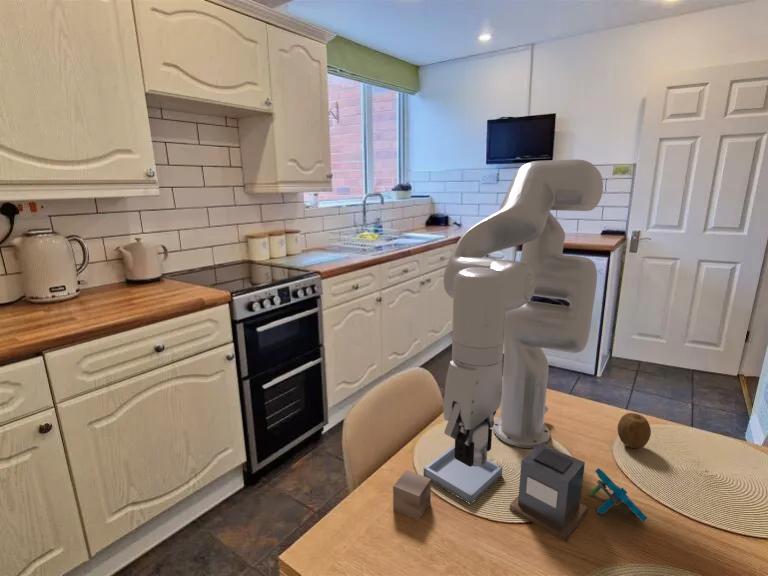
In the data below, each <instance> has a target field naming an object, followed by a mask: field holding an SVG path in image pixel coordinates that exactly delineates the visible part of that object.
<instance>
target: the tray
mask: <svg viewBox="0 0 768 576" xmlns="http://www.w3.org/2000/svg"><path fill="white" fill-rule="evenodd" d="M423 476H425V477H427V478H430V479H431V483H434V482H435V483H436V485H437V486H439V487H440V486H441V488H442V487H443V488H444V489H443V488H442V489H443V490H445V489H446V491H447V490H448V491H450V492H452V493H453V494H455V495H457V496H459V497H460V498H462V499H463V500H465V501H467V502H469V503H470V504H471V503H472V502H473V501H474V500H476V499H477V498H478V497H479V496H480V495H481V494H482V493H483V492H484V493H485V492H486V491H487V490H488V489H489V488H490V487H492V486H493V485H494V484H495V483H496V482H497V481H498V480H499V479H500V478H502V476H503V466H501V465H499V464H497V463H495V462H493V461H491V460H490V459H488V458H487V461H486V463H485V464H483V465H481V466H471V467H469V466H468V465H466V464H464V463H462V462H460V461H458V460H457V459H455V444H454V445H453V446H451V447H450V448H449V449H447V450H445V451H444V452H443V453H442V454H440V455H439V456H438V457H436V458H435V459H433V460H432V461H431V462H429V463H428V464H426V465H425V466H424V467H423ZM498 478H499V479H498ZM497 479H498V480H497ZM496 480H497V481H496ZM495 481H496V482H495ZM494 482H495V483H494ZM435 483H434V484H435ZM493 483H494V484H493ZM492 484H493V485H492ZM491 485H492V486H491ZM486 489H487V490H486ZM448 491H447V492H448ZM450 492H449V493H450ZM452 493H451V494H452ZM484 493H483V494H484ZM453 494H452V495H453ZM483 494H482V495H483ZM455 495H454V496H455ZM482 495H481V496H482ZM457 496H456V497H457ZM481 496H480V497H481ZM480 497H479V498H480ZM460 498H459V499H460ZM479 498H478V499H479ZM478 499H477V500H478ZM463 500H462V501H463ZM477 500H476V501H477ZM465 501H464V502H465ZM470 504H469V505H470ZM472 504H473V503H472ZM472 504H471V505H472Z"/></svg>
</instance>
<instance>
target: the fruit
mask: <svg viewBox="0 0 768 576" xmlns="http://www.w3.org/2000/svg"><path fill="white" fill-rule="evenodd" d="M651 430H652V429H651V426H650V423H649V421H648V420H647V418H646V417H645V416H644V415H641V414H638V413H634V412H628V413H626V414H623V416H622V417H621V418H620V420H619V421H618V424H617V435H618V437H619V439H620V441H621V442H622V443H623V445H624V446H627V447H629V448H632V449H640V448H641V449H642V448H643V447H645V446H646V445H647V444H648V442H649V440H650V438H651V434H652V432H651Z"/></svg>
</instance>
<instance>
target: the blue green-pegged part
mask: <svg viewBox="0 0 768 576" xmlns="http://www.w3.org/2000/svg"><path fill="white" fill-rule="evenodd" d="M594 471H595V473H596V474H597V475H596V476H597V477H598V478H599V479H598V480H597V481H596V483H597V485H596V486H595V487H594V488H593V489H592V490H591V491H589V493H588V494H590V496H592V497H593V496H594V495H595V494H597V493H598V492H599V491H600V490H601V489H602V491H603V492H604V493H605V495H607V497H609V498H608V499H607V500H606V501H605V502H604V503H603V504H602V505H600V506H599V507H598V508H597V509H596V511H597V512H598V513H599V514H600V515H601V516H603V515H604V514H605V513H606V512H607V511H608V510H609V509H611V508H612V507H613V506H614V505H616V506H618V504H620V503H621V502H622V503H624V505H627V507H628V508H629V509H630V510H631V512H632V513H633V514H635V516H636V517H638V518H639V519H640V521H642V522H643V523H644V522H646V521H647V520H648V517H647V516H646V515H645V514H644V513H643V510H641V509H640V508H639V507H638V506H637V505H636V504H635V503H634V502H633V501H632V500H631V498H629V496H628V495H627V494H628V492H627V490H626V489H624V487H621V488H620V486H618V485H617V484H616V483H615V482H614V481H613V480H612V479H611V478H610V477H609V476H608V475H607V474H606V472H604V471H603V470H602V469H601V468H597V469H595V470H594ZM607 488H608V489H609V490H610V491H611V492H609V490H608V489H607Z"/></svg>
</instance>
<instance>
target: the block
mask: <svg viewBox="0 0 768 576" xmlns="http://www.w3.org/2000/svg"><path fill="white" fill-rule="evenodd" d="M431 485H432V481H431V479H430V478H427V477H425V476H424V475H421V474H419V473H416V472H413V471H410V470H407V469H406V470H405V471H404V472H403V473H402V474H401V476H400V477H399V478H398V479H397V481H395V483H394V484H393V485H392V509H393V511H395V512H398V513H400V514H402V515H405V516H406V517H409V518H412V519H414V520H417V521H420V520H421V517H422V516H423V515H424V513H425V511H426V509H428V506H429V505H430V504H431V499H432V498H431V497H432V496H431V494H432V493H431V489H432V486H431Z"/></svg>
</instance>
